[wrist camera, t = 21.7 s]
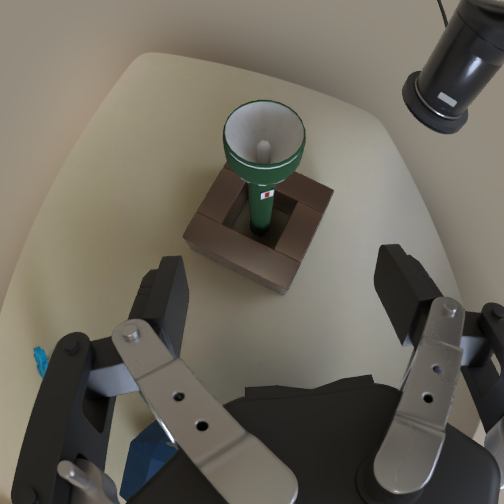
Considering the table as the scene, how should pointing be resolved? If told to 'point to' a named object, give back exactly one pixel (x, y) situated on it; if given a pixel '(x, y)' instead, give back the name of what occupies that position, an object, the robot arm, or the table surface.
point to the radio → (145, 458)
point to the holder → (246, 249)
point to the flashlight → (263, 152)
